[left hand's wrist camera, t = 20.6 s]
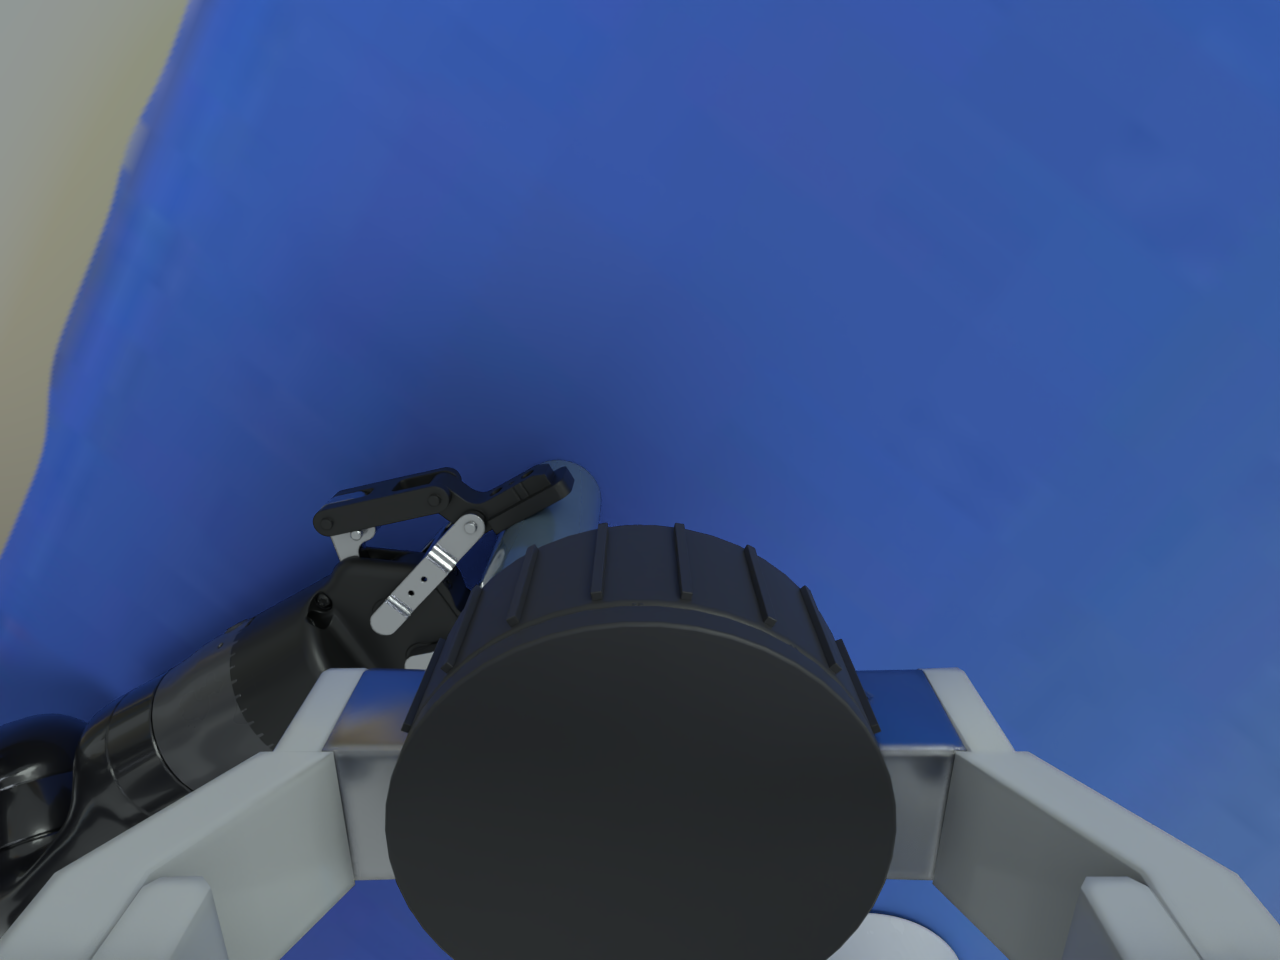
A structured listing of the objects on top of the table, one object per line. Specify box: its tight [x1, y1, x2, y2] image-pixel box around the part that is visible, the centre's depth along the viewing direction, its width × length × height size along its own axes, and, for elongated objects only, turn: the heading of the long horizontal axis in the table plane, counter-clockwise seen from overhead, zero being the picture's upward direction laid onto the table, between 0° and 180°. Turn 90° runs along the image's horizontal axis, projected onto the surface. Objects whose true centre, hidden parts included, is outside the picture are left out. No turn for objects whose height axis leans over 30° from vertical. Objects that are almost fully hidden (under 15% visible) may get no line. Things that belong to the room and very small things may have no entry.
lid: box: [385, 523, 897, 960], centre depth 9 cm, size 5×5×2 cm
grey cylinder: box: [478, 460, 601, 588], centre depth 34 cm, size 4×4×18 cm
